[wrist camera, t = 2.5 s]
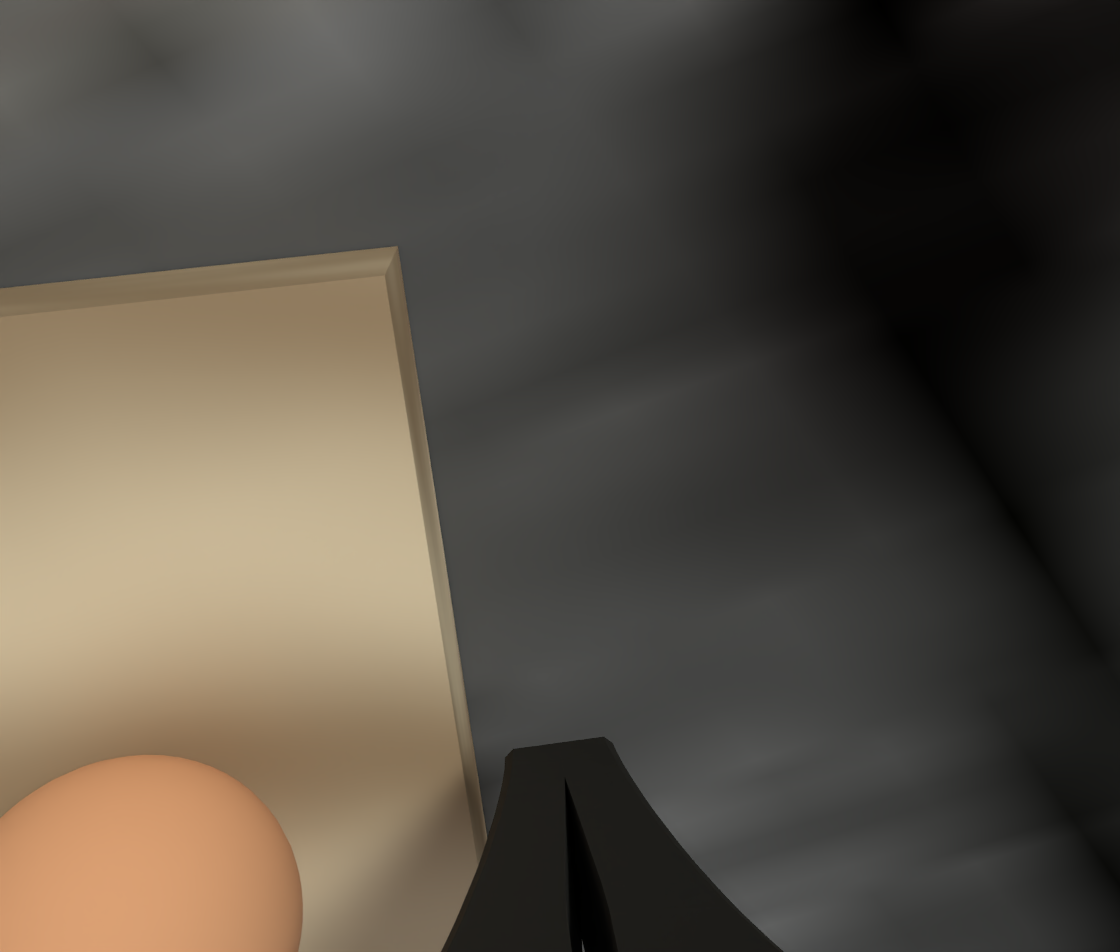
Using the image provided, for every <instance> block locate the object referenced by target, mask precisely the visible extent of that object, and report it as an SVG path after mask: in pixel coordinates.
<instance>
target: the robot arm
mask: <svg viewBox="0 0 1120 952" xmlns="http://www.w3.org/2000/svg"><path fill="white" fill-rule="evenodd" d="M582 941H583V945H584V950H585V952H783V951H782V950H781V949H780V948H779V947H778V946H777V945H775V944H774V943H773V942H772V941H771V940H770V939H769V938H768V937H767V936H765V935H764V934H763V933H762V932H761V931H760V930H759V929H758V928H757V927H756V926H755V925H754V924H753V923H752V922H751V921H750V920H749V919H748V918H747V917H745V916H744V915H743V914H742V913H741V912H740V911H739V910H738V909H737V908H736V907H735V905H734V904H733V903H732V902H731V901H730V900H729V899H728V898H727V897H726V896H725V895H724V894H723V893H722V892H721V891H720V890H719V889H718V888H717V887H716V885H715V884H714V883H713V882H712V881H711V880H710V879H709V878H708V877H707V875H706V874H705V873H704V872H703V871H702V870H701V869H700V868H699V866H698V865H697V864H696V863H695V862H694V861H693V860H692V858H691V857H690V856H689V855H688V854H687V852H686V851H685V850H684V849H683V848H682V846H681V845H680V844H679V843H678V841H677V840H676V839H675V837H674V836H673V835H672V834H671V832H670V831H669V830H668V828H667V827H666V826H665V825H664V823H663V822H662V821H661V819H660V818H659V817H658V816H657V814H656V813H655V811H654V810H653V809H652V807H651V806H650V805H649V803H648V802H647V800H646V799H645V797H644V796H643V794H642V793H641V791H640V790H639V788H638V787H637V785H636V784H635V782H634V781H633V779H632V778H631V776H630V775H629V773H628V771H627V770H626V768H625V766H624V765H623V763H622V761H621V759H620V757H619V755H618V754H617V752H616V750H615V748H614V745H613V743H612V742H610V741H609V740H608V739H606V738H605V737H599V738H592V739H584V740H577V741H569V742H562V743H555V744H547V745H540V746H533V747H525V748H518V749H513V750H512V751H511V752H510V753H509V754H508V755H507V756H506V757H505V770H504V777H503V783H502V788H501V792H500V797H499V801H498V805H497V808H496V812H495V816H494V819H493V823H492V826H491V829H490V832H489V835H488V838H487V841H486V844H485V847H484V850H483V853H482V856H481V859H480V862H479V865H478V867H477V870H476V873H475V875H474V878H473V880H472V883H471V885H470V887H469V890H468V892H467V895H466V897H465V899H464V902H463V904H462V907H461V909H460V911H459V914H458V916H457V919H456V921H455V923H454V925H453V927H452V930H451V932H450V934H449V936H448V938H447V940H446V942H445V944H444V946H443V948H442V950H441V952H582Z"/></svg>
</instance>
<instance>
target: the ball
mask: <svg viewBox="0 0 1120 952" xmlns="http://www.w3.org/2000/svg"><path fill="white" fill-rule="evenodd" d="M302 923H303V899H302V887H301V881H300V875H299V871H298V867H297V863H296V860H295V857H294V854H293V851H292V848H291V845H290V843H289V841H288V839H287V837H286V836H285V834H284V832H283V830H282V828H281V826H280V824H279V822H278V821H277V819H276V818H275V817H274V815H273V814H272V812H271V811H270V810H269V808H268V807H267V806H266V805H265V804H264V803H263V802H262V801H261V800H260V799H259V798H258V797H257V796H256V795H255V794H254V793H253V792H252V791H251V790H249V789H248V788H247V787H246V786H244V785H243V784H242V783H241V782H239V781H238V780H236V779H234V778H233V777H231V776H230V775H228V774H226V773H224V772H222V771H220V770H218V769H216V768H214V767H211V766H208V765H206V764H203V763H200V762H197V761H193V760H189V759H185V758H180V757H173V756H165V755H135V756H125V757H119V758H114V759H109V760H104V761H99V762H96V763H93V764H89V765H86V766H83V767H81V768H78V769H76V770H74V771H71V772H69V773H67V774H65V775H62V776H60V777H58V778H56V779H53V780H52V781H50V782H48V783H47V784H45V785H43V786H42V787H40V788H38V789H37V790H35V791H34V792H32V793H31V794H29V795H28V796H26V797H25V798H23V799H22V800H21V801H19V802H18V803H17V804H16V805H15V806H13V807H12V808H11V809H10V810H9V811H7V812H6V813H5V814H4V815H3V816H2V817H1V818H0V952H298V951H299V945H300V940H301V932H302Z"/></svg>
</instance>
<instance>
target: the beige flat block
mask: <svg viewBox="0 0 1120 952" xmlns="http://www.w3.org/2000/svg"><path fill="white" fill-rule="evenodd" d="M135 755H165V756H173V757H180V758H185V759H189V760H193V761H197V762H200V763H203V764H206V765H208V766H211V767H214V768H216V769H218V770H220V771H222V772H224V773H226V774H228V775H230V776H231V777H233V778H234V779H236V780H238V781H239V782H241V783H242V784H243V785H244V786H246V787H247V788H248V789H249V790H251V791H252V792H253V793H254V794H255V795H256V796H257V797H258V798H259V799H260V800H261V801H262V802H263V803H264V804H265V805H266V806H267V807H268V808H269V810H270V811H271V812H272V814H273V815H274V817H275V818H276V819H277V821H278V822H279V824H280V826H281V828H282V830H283V832H284V834H285V836H286V837H287V839H288V841H289V843H290V845H291V848H292V851H293V854H294V857H295V860H296V863H297V867H298V871H299V875H300V881H301V887H302V899H303V923H302V932H301V940H300V945H299V951H298V952H441V950H442V948H443V946H444V944H445V942H446V940H447V938H448V936H449V934H450V932H451V930H452V927H453V925H454V923H455V921H456V919H457V916H458V914H459V911H460V909H461V907H462V904H463V902H464V899H465V897H466V895H467V892H468V890H469V887H470V885H471V883H472V880H473V878H474V875H475V873H476V870H477V867H478V865H479V862H480V859H481V856H482V853H483V850H484V847H485V844H486V841H487V833H486V826H485V820H484V813H483V807H482V800H481V793H480V787H479V780H478V774H477V767H476V760H475V754H474V747H473V741H472V734H471V727H470V721H469V714H468V707H467V701H466V694H465V688H464V681H463V674H462V668H461V661H460V655H459V648H458V641H457V635H456V628H455V622H454V615H453V608H452V602H451V595H450V589H449V582H448V575H447V569H446V562H445V555H444V549H443V542H442V536H441V529H440V522H439V516H438V509H437V503H436V496H435V489H434V483H433V476H432V470H431V463H430V456H429V450H428V443H427V437H426V430H425V423H424V417H423V410H422V404H421V397H420V390H419V384H418V377H417V370H416V364H415V357H414V351H413V344H412V337H411V331H410V324H409V318H408V311H407V304H406V298H405V291H404V285H403V278H402V271H401V265H400V258H399V252H398V246H395V247H386V248H376V249H367V250H357V251H348V252H339V253H329V254H320V255H310V256H301V257H292V258H282V259H273V260H264V261H254V262H245V263H235V264H226V265H217V266H207V267H198V268H188V269H179V270H170V271H160V272H151V273H141V274H132V275H123V276H113V277H104V278H94V279H85V280H76V281H66V282H57V283H47V284H38V285H29V286H19V287H10V288H1V289H0V818H1V817H2V816H3V815H4V814H5V813H6V812H7V811H9V810H10V809H11V808H12V807H13V806H15V805H16V804H17V803H18V802H19V801H21V800H22V799H23V798H25V797H26V796H28V795H29V794H31V793H32V792H34V791H35V790H37V789H38V788H40V787H42V786H43V785H45V784H47V783H48V782H50V781H52V780H53V779H56V778H58V777H60V776H62V775H65V774H67V773H69V772H71V771H74V770H76V769H78V768H81V767H83V766H86V765H89V764H93V763H96V762H99V761H104V760H109V759H114V758H119V757H125V756H135Z"/></svg>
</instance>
